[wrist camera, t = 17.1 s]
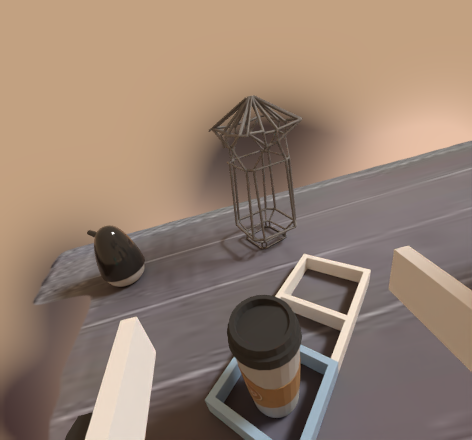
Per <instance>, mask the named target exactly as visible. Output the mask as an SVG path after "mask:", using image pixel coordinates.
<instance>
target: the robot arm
mask: <svg viewBox="0 0 472 440" xmlns="http://www.w3.org/2000/svg"><path fill="white" fill-rule="evenodd" d="M389 290H390V291H391V292H392V293H393V294H394V295H395V296H396V297H397V298H398V299H399V300H400V301H401V302H402V303H403V304H404V305H405V306H406V307H407V308H408V309H409V310H410V311H411V312H412V313H413V314H414V315H415V316H416V317H417V318H418V319H419V320H420V321H421V322H422V323H423V324H424V325H425V326H426V327H427V328H428V329H429V330H430V331H431V332H432V333H433V334H434V335H435V336H436V337H437V338H438V339H439V340H440V341H441V342H442V343H443V344H444V345H445V346H446V347H447V348H448V349H449V350H450V351H451V352H452V353H453V354H454V355H455V356H456V357H457V358H458V359H459V360H460V361H461V362H462V363H463V364H464V365H465V366H466V367H467V368H468V369H469V370H470V371H471V372H472V290H470V289H469V288H468V287H466V286H465V285H463V284H462V283H460V282H459V281H458V280H456V279H455V278H453V277H452V276H451V275H449V274H448V273H446V272H445V271H444V270H442V269H441V268H439V267H438V266H436V265H435V264H434V263H432V262H431V261H429V260H428V259H427V258H425V257H424V256H422V255H421V254H419V253H418V252H417V251H415V250H414V249H412V248H411V247H410V246H405V247H402V248H398V249H394V255H393V262H392V269H391V276H390V282H389ZM155 356H156V351H155V349H154V347H153V345H152V344H151V342H150V340H149V338H148V336H147V334H146V333H145V331H144V329H143V327H142V325H141V324H140V322H139V320H138V318H137V317H133V318H129V319H125V320H122V321H120V325H119V328H118V331H117V335H116V338H115V341H114V344H113V348H112V351H111V354H110V358H109V361H108V364H107V368H106V371H105V374H104V378H103V381H102V384H101V388H100V391H99V394H98V398H97V401H96V404H95V408H94V411H93V412H92V413H89V414H85V415H81V416H78V418H77V420H76V421H75V423H74V424H73V426H72V427H71V429H70V431H69V432H68V434H67V436H66V439H65V440H145V433H146V426H147V418H148V410H149V402H150V395H151V387H152V379H153V371H154V364H155Z"/></svg>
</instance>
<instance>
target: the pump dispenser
mask: <svg viewBox="0 0 472 440" xmlns="http://www.w3.org/2000/svg"><path fill="white" fill-rule="evenodd" d="M87 234H88V235H91V236H93V237H95V239H94V251H95V258H96V262H97V266H98V269H99V271H100V274H101V276H102V278H103V279H104V280H105V281H107V282H108V283H110V284H111V285H114V286H118V287H122V286H127V285H130V284H132V283H134V282H135V281H137V280H138V279H139V278H140V277H141V275H142V274H143V271H144V266H145V265H144V262H145V259H144V256H143V254H142V253H141V251H140V250H139V248H138V247H137V245H136V244H135V243H134V242H133V241H132V240H131V238H130V237H129V236H128V235H127V234H125V233H124V232H123V231H122V230H120V229H119V228H117V227H115V226H104V227H102V228H100V229H99V230H98V231H97V232H95V231H91V230H89V231H88V232H87Z"/></svg>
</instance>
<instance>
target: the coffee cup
mask: <svg viewBox="0 0 472 440" xmlns="http://www.w3.org/2000/svg"><path fill="white" fill-rule="evenodd" d="M227 335H228V343H229V348H230V350H231V352H232V354H233V356H234V357H235V358H236V360H237V362H238V367H239V369H240V371H241V374H242V376H243V378H244V381H245V383H246V386H247V388H248V390H249V392H250V394H251V396H252V398H253V400H254V402H255V404H256V406H257V408H258V409H259V410H260V411H261V412H262V413H264V414H265V415H266V416H269V417H272V418H281V417H284V416H287V415H288V414H289V413H291V412H292V411H293V410H294V408H295V407H296V405H297V403H298V399H299V386H300V345H301V339H302V334H301V328H300V325H299V320H298V318H297V316H296V314H295V313H294V312H293V311H292V309H291V307H290V306H289V305H288V304H287V303H286V302H285V301H283V300H281V299H280V298H277V297H274V296H270V295H257V296H253V297H250V298H248V299H246V300H244V301H242V302H241V303H240V304H239V305H237V306H236V308H235V309H234V310H233V312H232V314H231V316H230V319H229V323H228V329H227Z"/></svg>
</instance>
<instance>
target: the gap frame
mask: <svg viewBox="0 0 472 440" xmlns="http://www.w3.org/2000/svg"><path fill="white" fill-rule="evenodd" d="M307 269H311V270H314V271H318V272H322V273H325V274H329V275H333V276H336V277H340V278H344V279H347V280H351V281H355V282H358V283H359V285H358V288H357V290H356V293H355V296H354V298H353V301H352V304H351V306H350V309H349V311H348V314H347V315H345V314H342V313H339V312H336V311H333V310H331V309H328V308H325V307H322V306H319V305H316V304H314V303H311V302H308V301H305V300H302V299H299V298H297V297H294V296H291V294H292V292H293V291H294V289H295V288H296V286H297V284H298V283H299V281H300V280H301V278H302V276H303V275H304V273H305V272H306V270H307ZM370 271H371V270H369V269H365V268H360V267H356V266H352V265H348V264H344V263H340V262H336V261H331V260H327V259H323V258H319V257H315V256H311V255H306V254H304V255H303V256H302V258H301V259H300V261H299V262H298V264H297V265H296V266H295V268H294V269H293V271H292V272H291V274H290V275H289V277H288V278H287V280H286V281H285V283H284V284H283V286H282V287H281V288H280V290H279V291H278V293H277V294H276V296H275V297H277V298H280V299H281V300H283V301H285V302H286V303H287V304H288V305H289V306H290V307H291V309H292V311H293V312H294V313H296V314H299V315H301V316H304V317H306V318H309V319H311V320H314V321H317V322H319V323H322V324H324V325H327V326H329V327H332V328H334V329H337V330H340V331H341V333H340V335H339V338H338V341H337V343H336V346H335V349H334V351H333V354H332V356H331V358H329V357H326V356H324V355H322V354H320V353H318V352H316V351H314V350H311V349H309V348H307V347H305V346H303V345H300V363H301V364H303V365H305V366H307V367H309V368H311V369H313V370H315V371H317V372H319V373H321V374H323V375H324V378H323V380H322V383H321V386H320V388H319V391H318V393H317V396H316V399H315V401H314V404H313V407H312V409H311V412H310V415H309V417H308V420H307V423H306V425H305V428H304V430H303V433H302V436H301V438H300V440H316V438H317V435H318V432H319V430H320V427H321V424H322V421H323V418H324V415H325V412H326V409H327V406H328V403H329V400H330V397H331V394H332V391H333V388H334V385H335V382H336V379H337V376H338V373H339V370H340V367H341V365H342V362H343V359H344V356H345V353H346V350H347V347H348V344H349V341H350V338H351V335H352V332H353V329H354V326H355V323H356V320H357V317H358V314H359V311H360V308H361V305H362V302H363V300H364V297H365V294H366V291H367V288H368V285H369V282H370ZM240 376H241V371H240V369H239V367H238V362H237V360H236V358H235V357H234V358H233V359H232V360H231V362H230V363H229V365H228V366H227V368H226V369H225V371H224V372H223V374H222V375H221V377H220V378H219V380H218V381H217V382H216V384H215V385H214V387H213V388H212V390H211V391H210V393H209V394H208V396H207V397H206V399H205V402H206V404H207V406H208V408H209V411H210V412H211V413H212V414H214V415H215V416H216V417H217V418H219V419H220V420H221V421H222V422H224V423H225V424H226V425H227V426H229V427H230V428H231V429H232V430H234V431H235V432H236V433H237V434H239V435H240V436H241V437H242V438H244V439H245V440H272V439H271V438H269V437H268V436H267V435H265V434H264V433H263V432H261V431H260V430H259V429H257V428H256V427H255V426H253V425H252V424H251V423H249V422H248V421H247V420H245V419H244V418H243V417H241V416H240V415H239V414H237V413H236V412H235V411H233V410H232V409H231V408H229V407H228V406H227V405H225V404H224V401H225V400H226V398H227V397H228V395H229V393H230V392H231V390H232V389H233V387H234V385H235V384H236V382H237V381H238V379H239V377H240Z"/></svg>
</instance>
